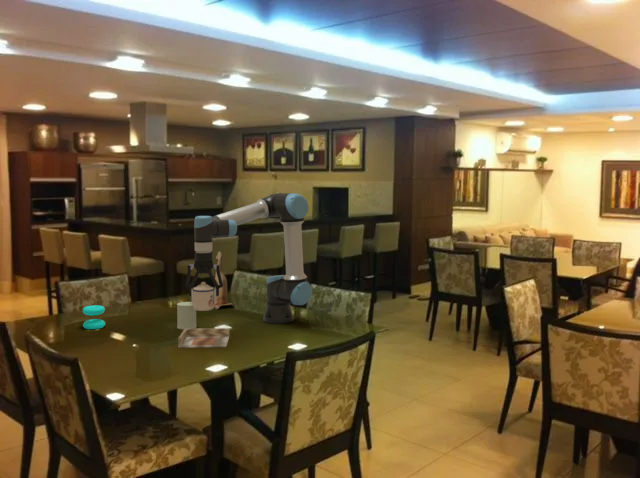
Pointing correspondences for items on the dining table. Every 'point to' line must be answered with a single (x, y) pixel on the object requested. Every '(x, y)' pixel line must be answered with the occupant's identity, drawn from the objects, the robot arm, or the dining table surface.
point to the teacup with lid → (203, 297)
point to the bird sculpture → (223, 290)
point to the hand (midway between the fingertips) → (204, 303)
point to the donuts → (94, 322)
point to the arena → (203, 338)
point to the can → (186, 315)
